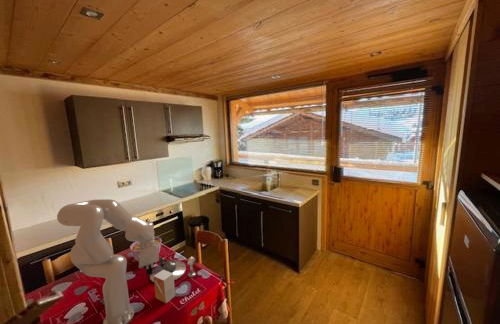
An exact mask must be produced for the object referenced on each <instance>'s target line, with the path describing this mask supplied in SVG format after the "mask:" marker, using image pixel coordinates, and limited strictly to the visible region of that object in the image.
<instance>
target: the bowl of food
mask: <svg viewBox="0 0 500 324" xmlns="http://www.w3.org/2000/svg"><path fill="white" fill-rule="evenodd" d="M154 241H155V244H156V245H157V249H158V255H159V253H160V251H161V247H162V238H161V237H159V236H154ZM138 244H140V241H133V242H132V244H130V246H129V250H130V252H131V254H132V256H133V258H134V260H135V261H137V262H138V254H139V247H138Z"/></svg>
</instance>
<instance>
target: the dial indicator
mask: <svg viewBox="0 0 500 324" xmlns="http://www.w3.org/2000/svg"><path fill="white" fill-rule="evenodd" d="M195 263H196V258H195V257H194V256H190V257H189V258H188V259H187V265H189V270H190V271H189V272H188V274H187V276H188V277H189V278H194V277H196V275H197V274H196V271H194V267H193V266H194V264H195Z"/></svg>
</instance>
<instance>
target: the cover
mask: <svg viewBox="0 0 500 324" xmlns="http://www.w3.org/2000/svg"><path fill="white" fill-rule="evenodd" d="M176 261H177V260H175V259H169V260H167V261H164V262H165V263H164V270H166V271H169V272H171V273H172V272H174V271H175V270H176Z"/></svg>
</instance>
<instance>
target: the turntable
mask: <svg viewBox="0 0 500 324" xmlns="http://www.w3.org/2000/svg"><path fill="white" fill-rule="evenodd" d="M175 261H176V270H175V271H174V272H172V273H173V277H174V282H175V281H176V280H178V279H179V278H181V277H183V275H184V274H185V273H186V270H187V266H186V264H185V263H184V262H183V261H179V260H175ZM165 262H166V261H165V257H164V256H160V257H159V265H157V266H156V267H153V268H152V271H153V272H152V275H150V276H149V280H150V281H151V282H152V283H154V275H156V274H157V273H159V272H160V271H162V270H164V263H165Z"/></svg>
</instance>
